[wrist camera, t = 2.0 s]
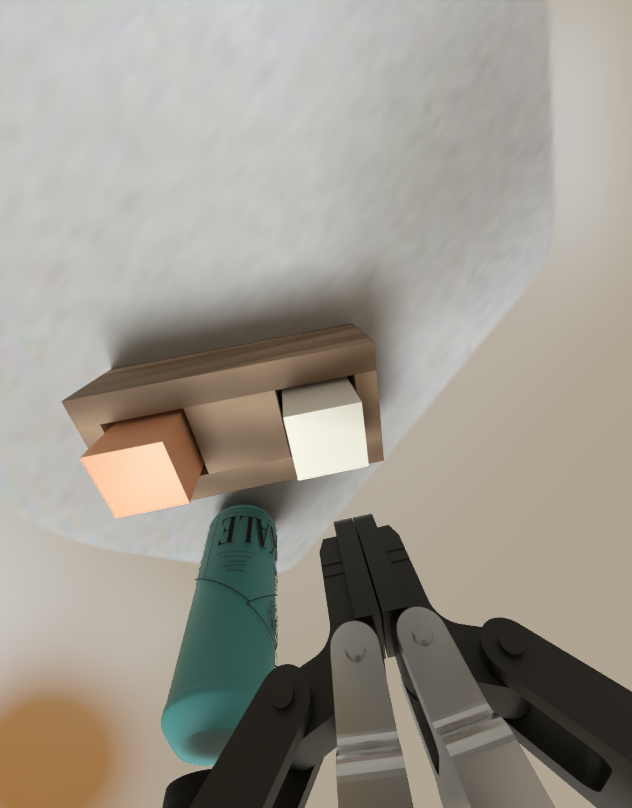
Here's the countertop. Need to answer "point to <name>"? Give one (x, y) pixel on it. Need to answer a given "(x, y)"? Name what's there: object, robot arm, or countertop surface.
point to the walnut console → (235, 401)
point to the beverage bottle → (222, 643)
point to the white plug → (325, 427)
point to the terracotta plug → (146, 463)
